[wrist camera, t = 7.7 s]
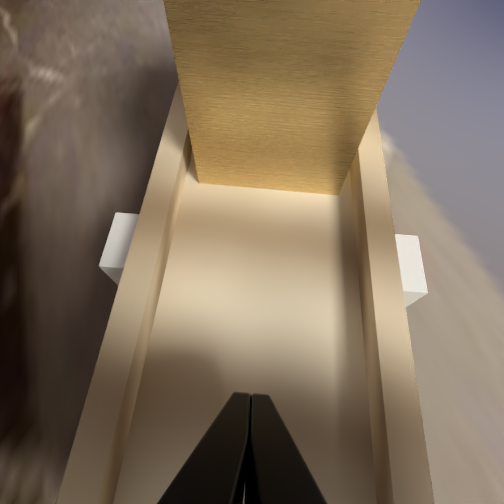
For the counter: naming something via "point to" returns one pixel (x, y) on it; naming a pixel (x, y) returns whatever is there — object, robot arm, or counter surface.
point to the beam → (256, 334)
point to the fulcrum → (126, 222)
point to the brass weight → (282, 85)
